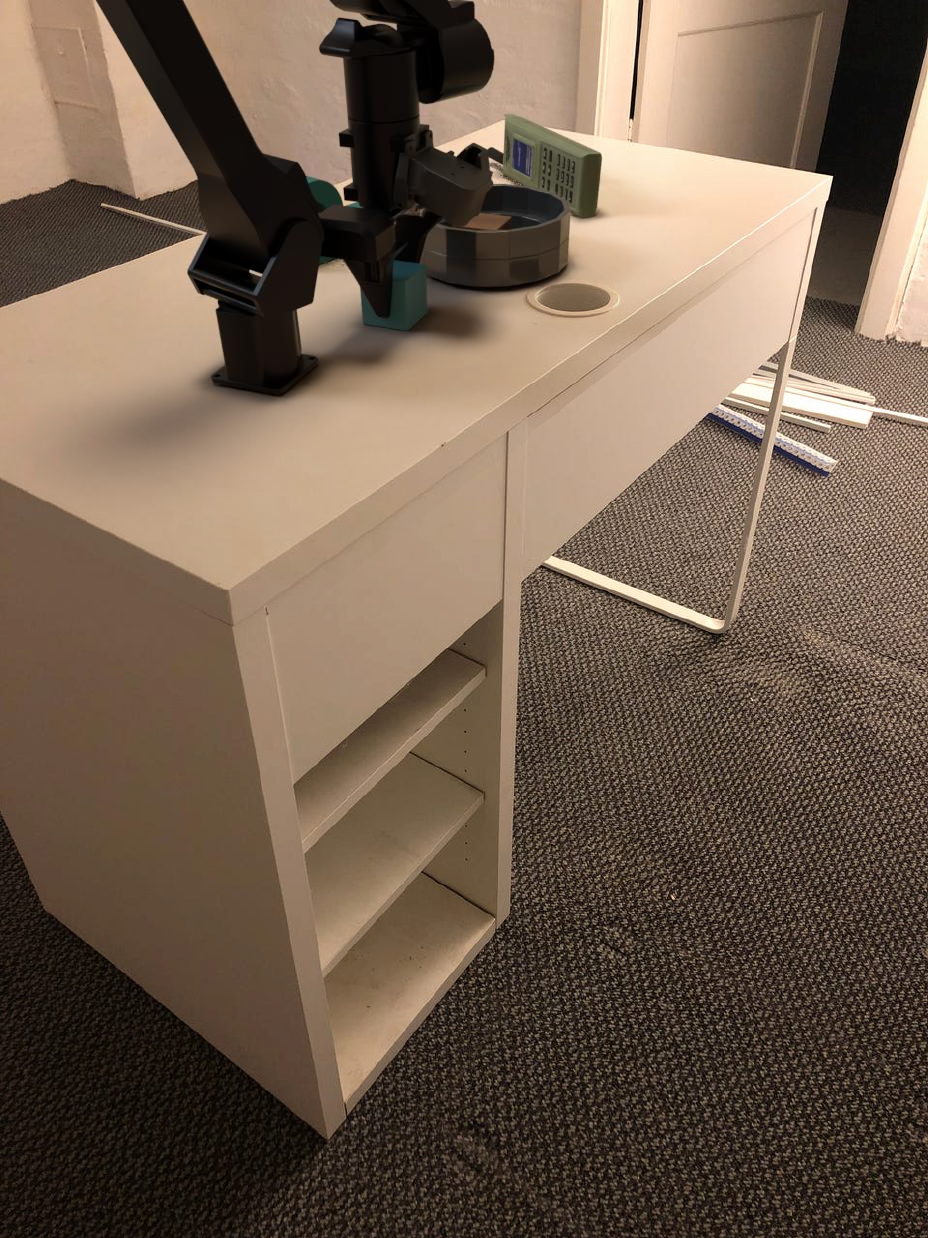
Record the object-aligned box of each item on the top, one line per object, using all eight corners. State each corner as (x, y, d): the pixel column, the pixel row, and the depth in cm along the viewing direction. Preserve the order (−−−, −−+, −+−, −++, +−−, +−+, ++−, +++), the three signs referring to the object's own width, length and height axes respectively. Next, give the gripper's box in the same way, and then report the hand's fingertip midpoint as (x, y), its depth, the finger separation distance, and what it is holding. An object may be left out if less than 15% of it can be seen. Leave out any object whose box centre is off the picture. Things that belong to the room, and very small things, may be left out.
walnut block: (495, 277, 95) (496, 230, 92) (453, 271, 96) (452, 225, 94) (511, 262, 98) (512, 216, 95) (470, 256, 100) (469, 211, 97)
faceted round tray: (538, 300, 92) (540, 239, 88) (389, 279, 96) (385, 221, 93) (585, 247, 103) (588, 191, 99) (449, 231, 107) (448, 177, 104)
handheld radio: (575, 219, 110) (477, 164, 128) (600, 216, 111) (500, 161, 129) (581, 154, 106) (479, 106, 123) (607, 151, 107) (503, 104, 125)
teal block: (407, 331, 87) (405, 281, 84) (362, 324, 88) (358, 274, 85) (428, 312, 90) (426, 263, 87) (384, 306, 91) (381, 257, 88)
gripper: (429, 153, 69) (436, 363, 79) (519, 97, 83) (515, 282, 93) (290, 139, 73) (313, 343, 82) (398, 88, 86) (406, 268, 96)
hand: (394, 307), depth 88 cm, fingers closed on teal block, 4 cm apart
